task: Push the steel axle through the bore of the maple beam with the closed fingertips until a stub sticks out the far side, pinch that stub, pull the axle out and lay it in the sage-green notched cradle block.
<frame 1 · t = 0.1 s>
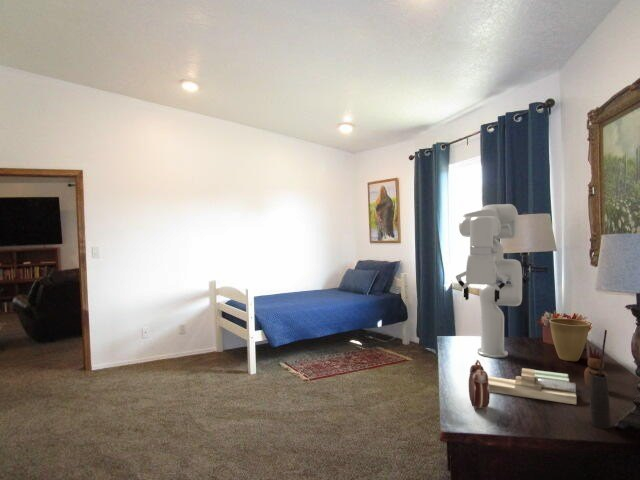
hand: (481, 300, 153), 31 cm above the table, tool pointing down, fingers open, 9 cm apart
wooden figurine: (595, 390, 151), on the table
maple beam: (528, 392, 149), on the table
butter churn: (596, 424, 126), on the table
cradle block: (550, 387, 154), on the table
steel axle: (547, 388, 146), point 2 cm above the table, touching maple beam
alarm clock: (478, 408, 137), on the table
plant pot: (568, 359, 186), on the table
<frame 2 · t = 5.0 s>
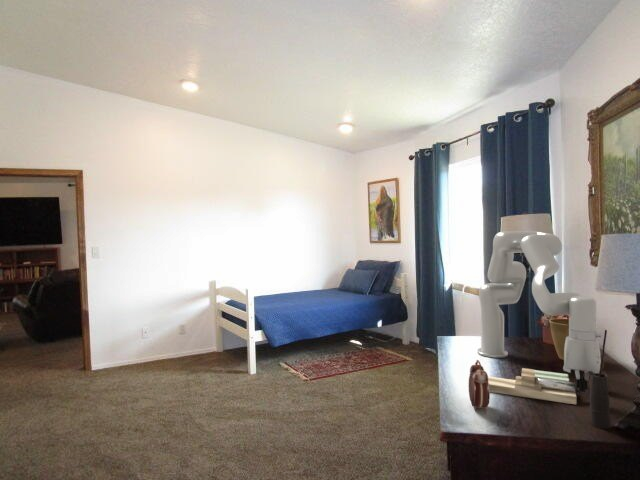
hand: (581, 390, 142), 3 cm above the table, tool pointing down, fingers closed
steel axle: (547, 388, 146), point 3 cm above the table, touching gripper
everything else where it was.
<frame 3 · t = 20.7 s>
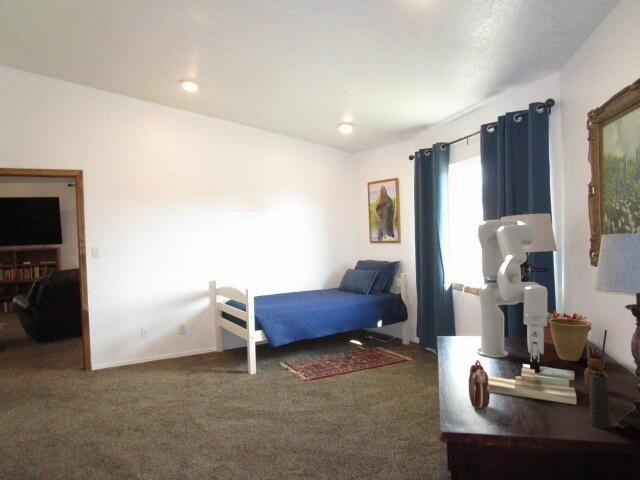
hand: (534, 369, 156), 6 cm above the table, tool pointing down, fingers open, 6 cm apart
steel axle: (547, 375, 154), point 4 cm above the table, touching cradle block
everything else where it was.
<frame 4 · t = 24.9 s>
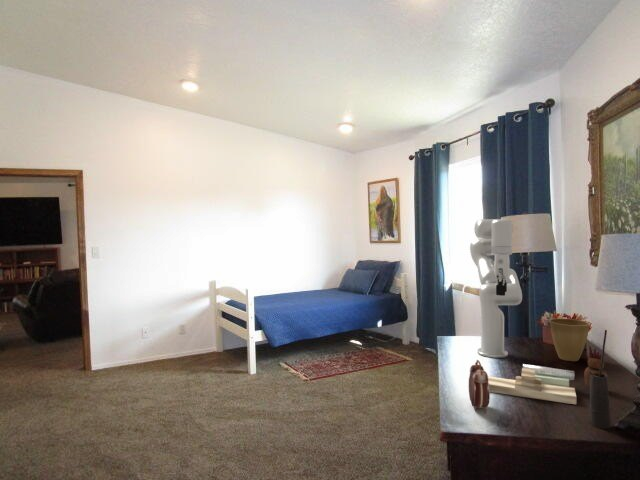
hand: (501, 293, 173), 30 cm above the table, tool pointing down, fingers open, 9 cm apart
nothing on the table moved.
at the end: steel axle inside the target area on the cradle block (0.9 cm from its centre), point 4.1 cm above the cradle block's base; steel axle tilted 2°; the gripper is holding nothing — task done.
